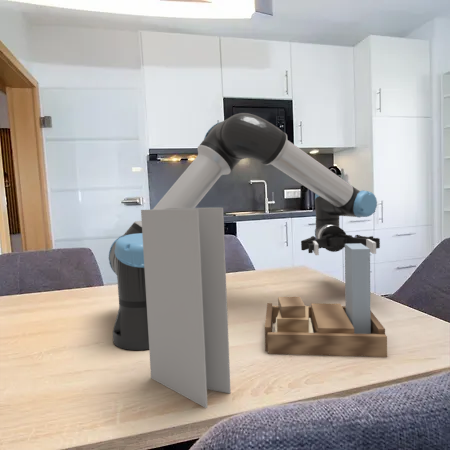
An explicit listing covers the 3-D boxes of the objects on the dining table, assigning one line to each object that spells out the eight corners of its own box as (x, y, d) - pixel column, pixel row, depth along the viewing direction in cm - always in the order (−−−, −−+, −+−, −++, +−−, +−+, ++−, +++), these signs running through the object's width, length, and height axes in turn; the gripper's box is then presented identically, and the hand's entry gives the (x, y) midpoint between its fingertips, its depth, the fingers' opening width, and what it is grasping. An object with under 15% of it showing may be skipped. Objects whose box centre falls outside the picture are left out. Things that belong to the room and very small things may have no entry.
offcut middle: (277, 332, 76) (276, 318, 76) (280, 317, 85) (280, 305, 85) (308, 333, 75) (308, 319, 74) (308, 318, 83) (308, 306, 83)
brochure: (231, 392, 58) (223, 207, 55) (206, 408, 54) (197, 209, 51) (175, 366, 68) (166, 208, 65) (151, 378, 64) (140, 209, 61)
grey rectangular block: (352, 345, 74) (351, 249, 72) (345, 330, 82) (344, 243, 80) (370, 345, 73) (370, 249, 72) (361, 330, 81) (361, 243, 80)
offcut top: (281, 318, 76) (281, 306, 76) (278, 307, 83) (278, 297, 83) (305, 317, 76) (305, 305, 76) (300, 307, 83) (299, 296, 83)
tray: (265, 353, 71) (264, 329, 71) (268, 321, 90) (267, 301, 89) (387, 357, 68) (387, 331, 68) (364, 322, 86) (364, 302, 86)
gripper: (375, 248, 107) (399, 262, 86) (291, 251, 111) (294, 265, 90) (375, 223, 107) (399, 232, 86) (290, 227, 110) (293, 235, 89)
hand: (345, 249), depth 88 cm, fingers open, 13 cm apart
